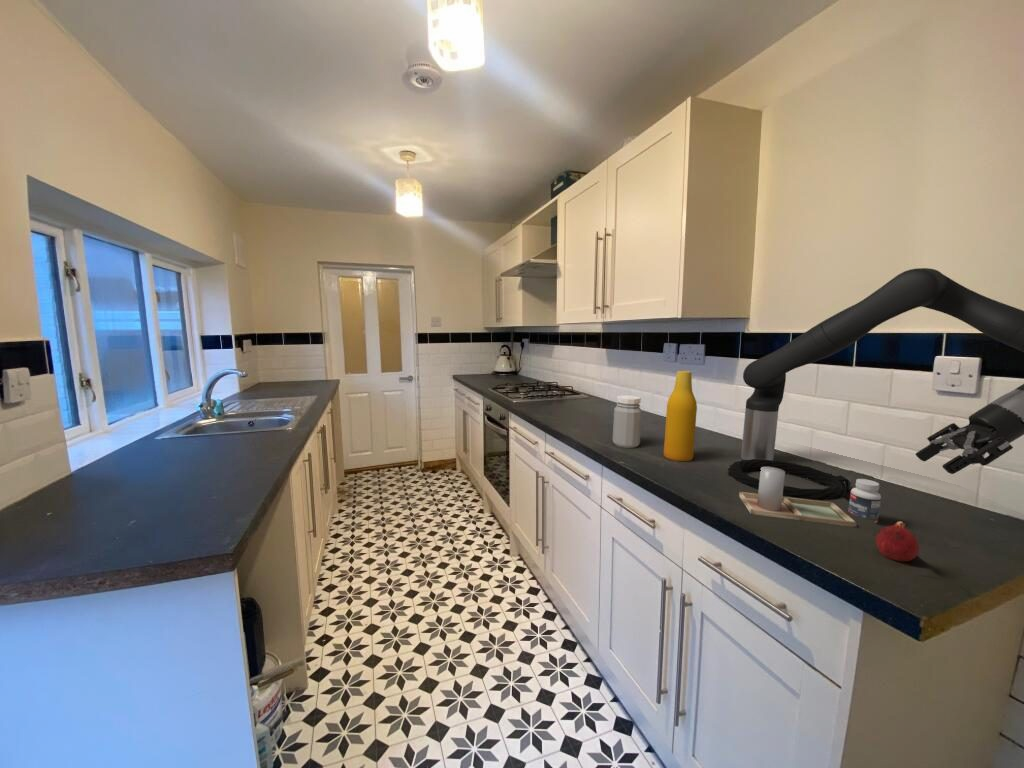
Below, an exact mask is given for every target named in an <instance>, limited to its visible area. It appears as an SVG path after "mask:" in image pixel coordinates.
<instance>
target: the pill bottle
mask: <svg viewBox="0 0 1024 768" xmlns="http://www.w3.org/2000/svg"><path fill="white" fill-rule="evenodd" d="M879 489H880V483H878V482H877V481H874V480H869V479H865V478H857V479H856V481H855V487H852V488H851V490H850V494H849V503H848V510H847V511H848V513H851V514H852V515H854V516H857V517H860V518H863V519H870V520H871V521H872V522H874V523H875V524H877V523H878V521H879V514H880V509H881V502H882V496H881V494H880V493H879V492H878V491H880V490H879Z"/></svg>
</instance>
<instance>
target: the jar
mask: <svg viewBox="0 0 1024 768" xmlns="http://www.w3.org/2000/svg"><path fill="white" fill-rule="evenodd" d="M616 402H617V403H616V406H615V407H614V408H613V409H614V410H613V427H612V442H613V443H614V445H615V446H616V447H619V448H623V449H624V448H625V449H634V448H637V447H638V446H639V445H640V444H641V433H642V418H643V417H642V416H643V410H642V409H641V408H640V407H641V405H640V403H641V397H640V396H638V395H637V396H636V395H631V394H630V395H628V394H627V395H626V394H623V395H617V396H616Z"/></svg>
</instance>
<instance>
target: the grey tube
mask: <svg viewBox="0 0 1024 768" xmlns="http://www.w3.org/2000/svg"><path fill="white" fill-rule="evenodd" d="M785 476H786V473H785V471H784V470H781V469H778V468H774V467H761V471H759V480H760V481H759V490H758V489H757V490H758V492H757V494H758V498H757V499H758V500H757V506H758V507H760V508H762V509H765V510H769V511H780V510H781V505H782V502H783V501H782V497H784V496H783V487H784V486H785Z"/></svg>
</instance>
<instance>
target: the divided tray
mask: <svg viewBox="0 0 1024 768" xmlns="http://www.w3.org/2000/svg"><path fill="white" fill-rule="evenodd" d="M738 497H739V498H740V499H741V501H742V503H743V504H744V506H745V507H746V508H747V510H748V512H749V514H750V515H755V516H756V515H757V516H763V517H771V518H773V517H774V518H779V519H780V518H781V519H789V520H797V521H803V522H813V523H822V524H827V525H828V524H829V525H836V526H841V527H842V526H843V527H852V528H857V526H858V525H857V524H858V523H857V522H856V521H855V520H854V519H853V518H852V517H851V516H849V515H848V514H847V513H846V512H845V511H843V509H841V508H840V507H839V506H838V505H836V504H835V503H834V502H833V501H826V500H817V499H800V498H794V497H789V496H782V505H781V510H780V511H769V510H765V509H762V508H760V507H758V506H757V500H758V493H753V492H752V493H751V492H747V491H745V492H744V491H738Z"/></svg>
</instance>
